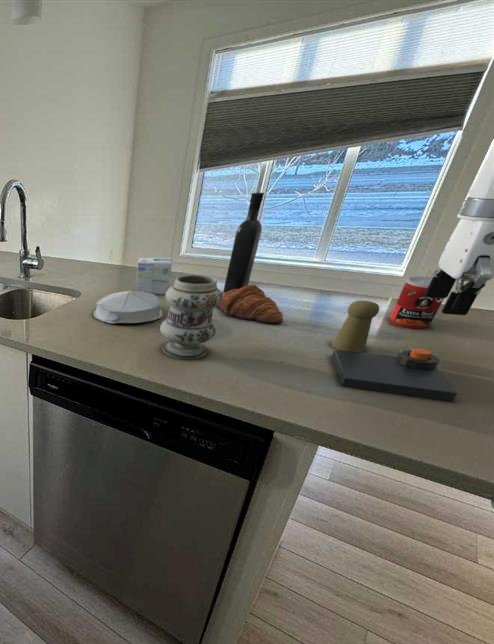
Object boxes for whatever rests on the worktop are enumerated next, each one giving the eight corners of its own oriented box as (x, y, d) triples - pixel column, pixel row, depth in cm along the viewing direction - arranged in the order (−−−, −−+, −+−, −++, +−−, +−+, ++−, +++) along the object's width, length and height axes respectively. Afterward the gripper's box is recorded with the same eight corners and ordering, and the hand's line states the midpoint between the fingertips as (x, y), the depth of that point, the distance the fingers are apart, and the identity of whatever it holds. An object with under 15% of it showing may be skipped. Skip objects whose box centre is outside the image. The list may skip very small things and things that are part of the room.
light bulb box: (168, 288, 141) (173, 257, 135) (167, 295, 135) (172, 262, 130) (136, 287, 145) (139, 257, 139) (133, 293, 140) (137, 261, 134)
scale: (426, 367, 85) (434, 352, 83) (452, 401, 74) (462, 385, 72) (330, 356, 92) (336, 342, 90) (341, 386, 81) (348, 370, 80)
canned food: (390, 326, 102) (409, 283, 97) (386, 315, 108) (404, 275, 102) (432, 331, 98) (455, 287, 93) (426, 320, 104) (447, 277, 98)
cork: (329, 340, 99) (345, 296, 93) (360, 343, 96) (379, 298, 91) (334, 350, 94) (352, 305, 88) (368, 353, 92) (388, 307, 86)
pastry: (276, 306, 119) (284, 280, 115) (282, 325, 108) (291, 296, 104) (212, 302, 127) (218, 276, 123) (211, 319, 115) (217, 292, 111)
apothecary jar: (190, 337, 106) (203, 269, 97) (221, 357, 96) (240, 282, 87) (148, 344, 105) (157, 275, 96) (174, 364, 94) (188, 289, 85)
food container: (155, 330, 112) (159, 306, 109) (85, 322, 121) (86, 300, 118) (167, 306, 127) (170, 285, 123) (103, 300, 136) (105, 280, 132)
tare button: (425, 355, 83) (429, 349, 82) (430, 361, 81) (433, 354, 80) (407, 353, 84) (410, 347, 83) (411, 359, 82) (414, 352, 81)
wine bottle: (221, 295, 131) (243, 194, 116) (228, 290, 134) (250, 191, 119) (240, 298, 128) (265, 194, 113) (246, 293, 131) (272, 191, 116)
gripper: (555, 217, 60) (492, 323, 69) (501, 201, 73) (454, 292, 82) (483, 217, 64) (431, 319, 72) (444, 202, 76) (404, 290, 85)
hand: (443, 305), depth 77 cm, fingers open, 9 cm apart
